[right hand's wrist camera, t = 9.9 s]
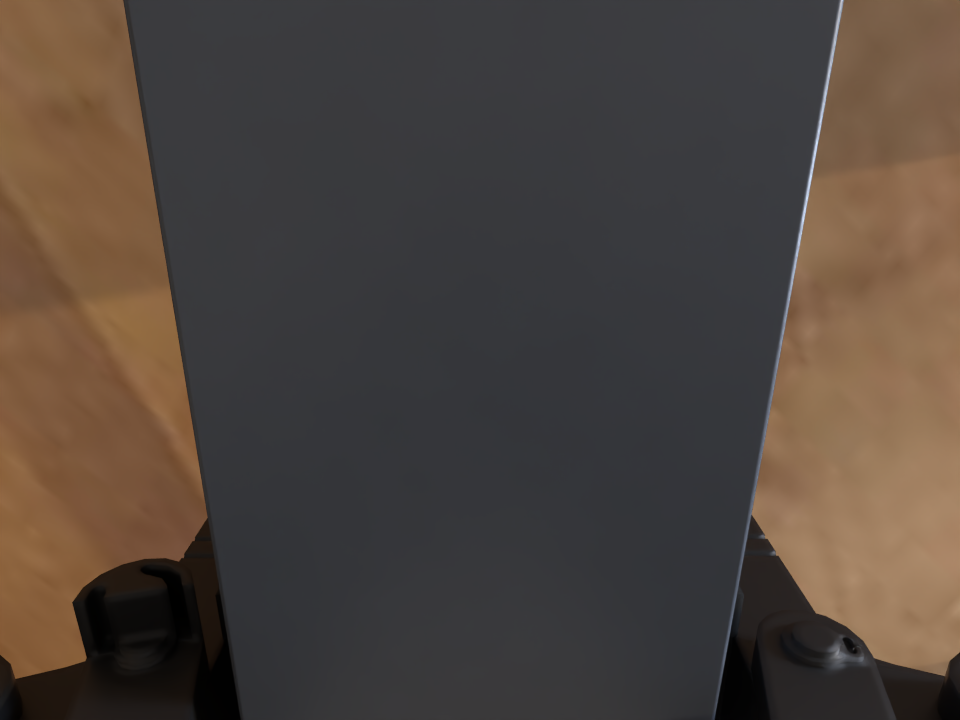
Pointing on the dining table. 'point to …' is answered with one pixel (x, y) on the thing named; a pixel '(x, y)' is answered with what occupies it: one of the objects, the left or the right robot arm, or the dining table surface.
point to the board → (480, 335)
